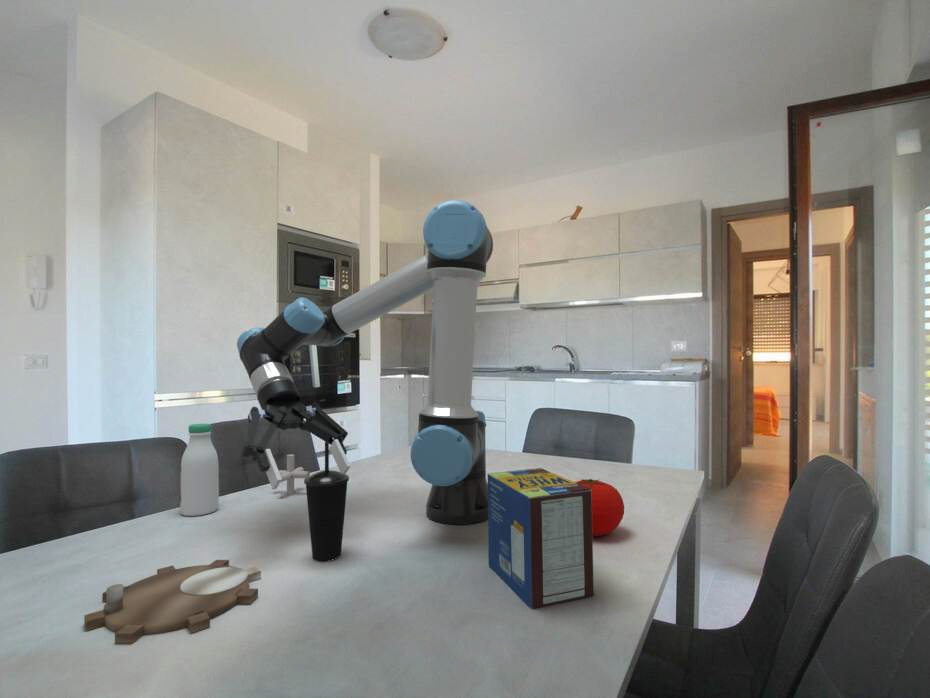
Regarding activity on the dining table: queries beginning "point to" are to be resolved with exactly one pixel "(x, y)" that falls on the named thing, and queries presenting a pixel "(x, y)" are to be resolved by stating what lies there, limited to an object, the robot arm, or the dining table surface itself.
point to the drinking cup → (326, 510)
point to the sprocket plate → (173, 600)
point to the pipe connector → (292, 474)
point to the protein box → (541, 535)
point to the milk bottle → (199, 473)
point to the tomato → (604, 506)
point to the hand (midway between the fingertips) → (313, 477)
